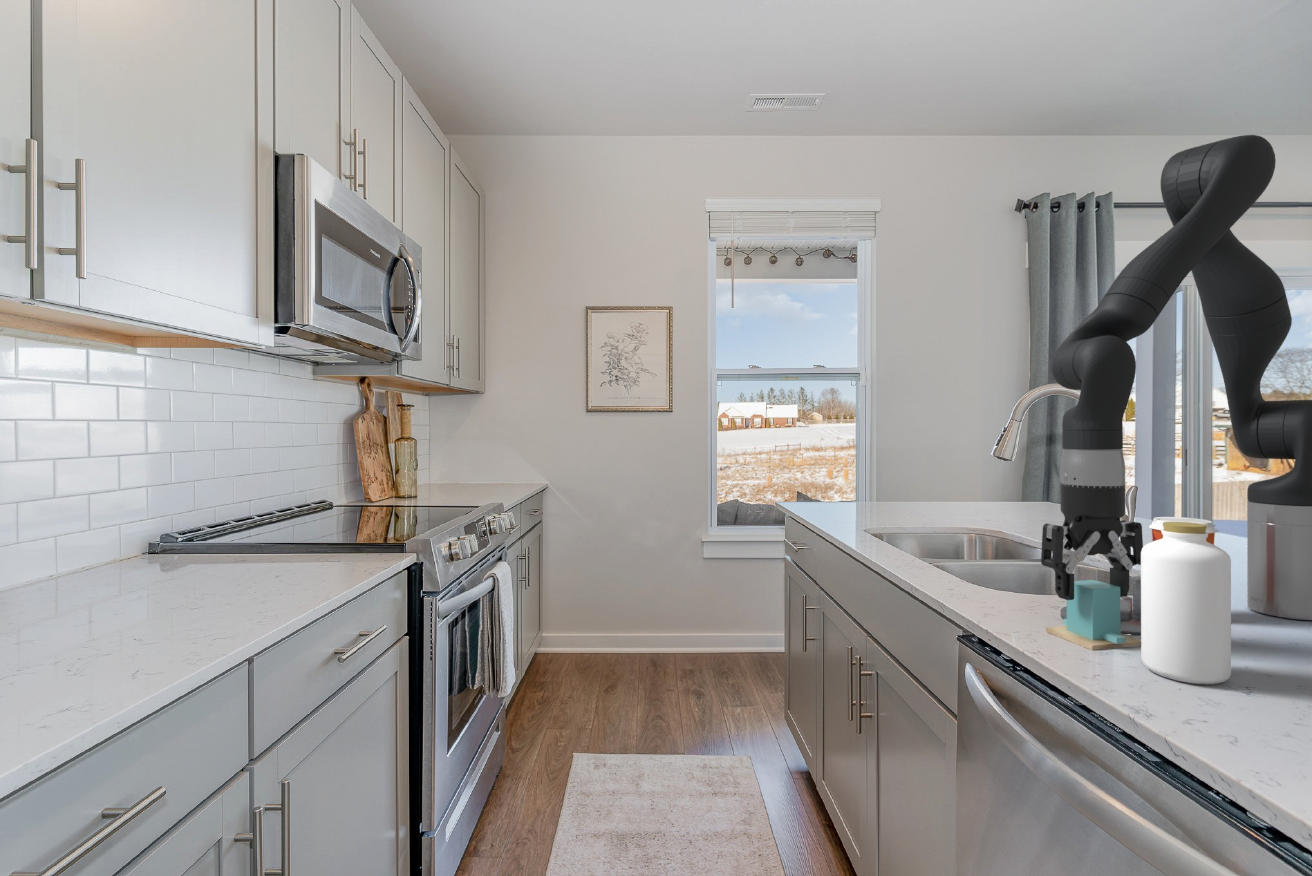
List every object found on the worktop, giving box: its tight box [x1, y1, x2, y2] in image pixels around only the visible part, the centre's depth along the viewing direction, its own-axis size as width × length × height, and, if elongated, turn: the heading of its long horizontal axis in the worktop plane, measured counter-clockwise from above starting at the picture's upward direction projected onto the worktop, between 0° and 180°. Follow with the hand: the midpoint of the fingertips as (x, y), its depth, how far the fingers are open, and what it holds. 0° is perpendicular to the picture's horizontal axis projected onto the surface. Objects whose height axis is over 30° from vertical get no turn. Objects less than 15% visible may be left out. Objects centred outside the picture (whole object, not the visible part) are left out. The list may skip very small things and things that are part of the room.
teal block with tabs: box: [1063, 579, 1126, 644], centre depth 90 cm, size 9×4×7 cm, turn 10°
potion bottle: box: [1140, 522, 1232, 685], centre depth 77 cm, size 8×8×18 cm
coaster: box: [1045, 625, 1141, 651], centre depth 91 cm, size 8×8×1 cm
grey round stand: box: [1060, 575, 1141, 636], centre depth 98 cm, size 13×13×6 cm
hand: (1092, 597), depth 90 cm, fingers open, 8 cm apart
